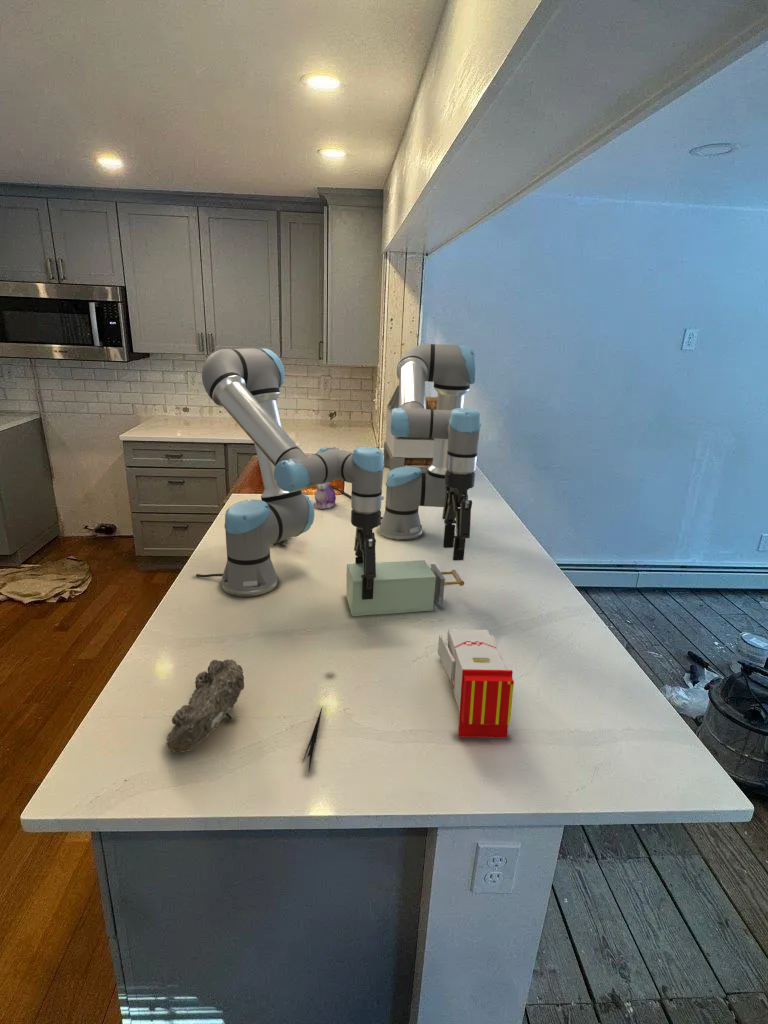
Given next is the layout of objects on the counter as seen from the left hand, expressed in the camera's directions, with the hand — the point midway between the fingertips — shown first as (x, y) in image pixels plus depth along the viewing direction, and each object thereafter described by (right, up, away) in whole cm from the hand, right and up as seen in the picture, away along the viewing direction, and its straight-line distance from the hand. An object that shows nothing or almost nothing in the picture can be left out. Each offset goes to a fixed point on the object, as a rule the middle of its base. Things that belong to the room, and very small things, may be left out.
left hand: (363, 588), depth 149 cm
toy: (+23, -17, -31) cm, 42 cm away
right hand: (+24, +9, +2) cm, 26 cm away
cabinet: (+7, -4, +3) cm, 9 cm away
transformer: (+23, +39, +126) cm, 134 cm away
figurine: (-18, +23, +75) cm, 81 cm away
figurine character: (-29, +11, +41) cm, 52 cm away
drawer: (+13, -3, +4) cm, 14 cm away
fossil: (-27, -19, -41) cm, 53 cm away
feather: (-7, -20, -41) cm, 46 cm away
